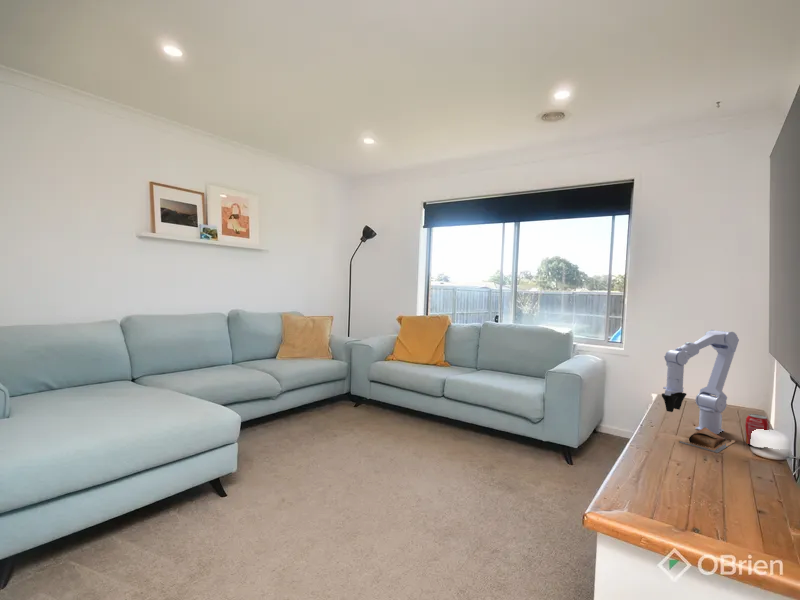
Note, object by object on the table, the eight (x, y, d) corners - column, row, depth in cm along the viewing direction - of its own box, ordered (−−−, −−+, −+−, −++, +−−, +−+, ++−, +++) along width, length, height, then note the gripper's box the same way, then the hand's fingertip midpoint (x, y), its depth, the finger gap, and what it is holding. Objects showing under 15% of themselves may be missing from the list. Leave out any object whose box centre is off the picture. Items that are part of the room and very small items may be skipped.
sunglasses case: (715, 449, 153) (705, 431, 156) (695, 453, 158) (685, 436, 160) (726, 439, 165) (716, 423, 167) (707, 443, 169) (698, 427, 172)
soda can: (758, 443, 162) (760, 413, 162) (773, 450, 155) (775, 419, 155) (739, 442, 163) (741, 412, 162) (753, 448, 156) (755, 418, 155)
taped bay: (700, 431, 174) (700, 431, 174) (736, 441, 164) (736, 440, 164) (678, 442, 159) (678, 441, 159) (717, 453, 149) (717, 452, 149)
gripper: (671, 375, 179) (669, 405, 179) (657, 378, 170) (655, 410, 170) (689, 378, 173) (687, 409, 173) (676, 381, 164) (674, 414, 165)
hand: (673, 410), depth 171 cm, fingers open, 7 cm apart
